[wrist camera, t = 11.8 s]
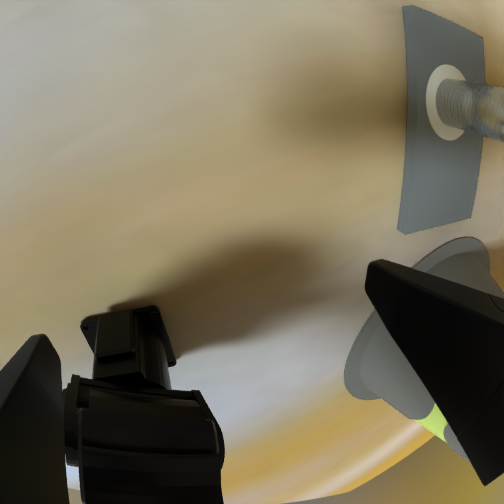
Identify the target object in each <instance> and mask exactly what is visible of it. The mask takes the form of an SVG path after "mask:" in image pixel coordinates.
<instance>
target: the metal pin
mask: <svg viewBox="0 0 504 504" xmlns="http://www.w3.org/2000/svg"><path fill="white" fill-rule="evenodd" d="M436 109H437V113H438V115H439V118H440V119H441V121H442V122H443V123H444V124H445V125H446V126H449V127H453V128H457V129H460V130H464V131H467V132H471V133H474V134H477V135H481V136H484V137H487V138H490V139H493V140H496V141H499V142H502V143H504V87H500V86H494V85H489V84H484V83H478V82H471V81H465V80H457V79H449V78H448V79H444V80H443V81H442V82H441V83H440V84H439V86H438V89H437V93H436Z"/></svg>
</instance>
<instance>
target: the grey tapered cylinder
mask: <svg viewBox="0 0 504 504" xmlns="http://www.w3.org/2000/svg"><path fill="white" fill-rule="evenodd" d="M412 268H413V269H416V270H419V271H422V272H425V273H428V274H432V275H435V276H438V277H441V278H444V279H447V280H450V281H453V282H456V283H459V284H462V285H465V286H468V287H471V288H474V289H477V290H480V291H483V292H486V294H487V293H489V294H492V295H495V296H498V297H501V298H504V292H503V291H502V290H501V288H500V287H499V286H498V284H497V283H496V282H495V280H494V279H493V278H492V277H491V275H490V274H489V268H490V264H489V256H488V252H487V250H486V248H485V246H484V245H483V244H482V243H481V242H480V241H479V240H477V239H475V238H472V237H461V238H457V239H454V240H451V241H449V242H447V243H445V244H443V245H441V246H439V247H438V248H436V249H435V250H433V251H432V252H430V253H429V254H428V255H426V256H425V257H424V258H423V259H421V260H420V261H419V262H418V263H417V264H415V265H414V266H413V267H412ZM344 382H345V386H346V388H347V390H348V391H349V393H350V394H351V395H352V396H354V397H356V398H358V399H362V400H375V399H380V398H381V399H383V400H384V401H385V402H387V403H388V404H389V405H391V406H392V407H394V408H395V409H396V410H398V411H399V412H400V413H402V414H403V415H404V416H406V417H407V418H408V419H414V420H415V421H417V422H418V423H419V424H421V425H422V426H424V427H425V428H426V429H428V430H429V431H431V432H432V433H433V434H435V435H436V436H438V437H439V438H440V439H442V440H443V441H445V442H446V443H448V445H449V446H450V447H451V448H452V449H453V450H454V451H455V452H456V453H458V454H459V455H460V456H462V457H463V458H465V459H466V460H468V461H469V462H470V460H469V459H468V457H467V455H466V453H465V452H464V450H463V448H462V447H461V445H460V443H459V441H458V440H457V437H456V436H455V434H454V433H453V431H452V429H451V428H450V426H449V424H448V423H447V421H446V419H445V418H444V416H443V415H442V413H441V411H440V410H439V408H438V407H437V405H436V403H435V402H434V400H433V399H432V397H431V395H430V394H429V392H428V391H427V389H426V388H425V386H424V385H423V383H422V382H421V380H420V378H419V377H418V375H417V374H416V372H415V371H414V369H413V368H412V366H411V365H410V363H409V362H408V360H407V359H406V357H405V356H404V355H403V353H402V352H401V350H400V349H399V347H398V346H397V344H396V343H395V341H394V340H393V338H392V337H391V335H390V334H389V332H388V331H387V329H386V327H385V326H384V324H383V322H382V320H381V318H380V317H379V315H378V313H377V311H376V310H374V311H373V312H372V314H371V315H370V317H369V318H368V320H367V321H366V323H365V324H364V326H363V327H362V329H361V331H360V332H359V334H358V336H357V338H356V340H355V342H354V344H353V346H352V348H351V350H350V353H349V355H348V358H347V362H346V365H345V371H344ZM503 474H504V473H503Z"/></svg>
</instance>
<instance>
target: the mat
mask: <svg viewBox="0 0 504 504" xmlns="http://www.w3.org/2000/svg"><path fill="white" fill-rule="evenodd" d="M402 9H403V18H404V29H405V41H406V59H407V132H406V151H405V165H404V176H403V186H402V196H401V204H400V212H399V219H398V226H397V229H398V230H399V231H401V232H402V233H404V234H405V235H406V234H410V233H414V232H418V231H422V230H426V229H429V228H433V227H437V226H441V225H445V224H449V223H453V222H456V221H460V220H464V219H468V218H471V215H472V210H473V205H474V200H475V194H476V189H477V182H478V176H479V169H480V161H481V153H482V143H483V136H481V135H477V134H474V133H471V132H467V131H464V130H460V129H457V128H453V127H449V126H446V125H445V124H444V123H443V122H442V121H441V119H440V118H439V115H438V113H437V109H436V93H437V89H438V86H439V84H440V83H441V82H442V81H443V80H444V79H448V78H449V79H457V80H465V81H471V82H478V83H484V84H485V60H484V44H483V37H481V36H479V35H477V34H476V33H474V32H472V31H470V30H468V29H466V28H464V27H462V26H460V25H458V24H456V23H454V22H452V21H449V20H447V19H445V18H443V17H441V16H438V15H436V14H434V13H431V12H429V11H426V10H424V9H421V8H419V7H416V6H414V5H409V6H403V7H402Z"/></svg>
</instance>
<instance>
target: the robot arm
mask: <svg viewBox="0 0 504 504" xmlns="http://www.w3.org/2000/svg"><path fill="white" fill-rule="evenodd" d="M365 291H366V294H367V296H368V297H369V299H370V301H371V303H372V304H373V306H374V308H375V310H376V311H377V313H378V315H379V317H380V318H381V320H382V322H383V324H384V326H385V327H386V329H387V331H388V332H389V334H390V335H391V337H392V338H393V340H394V341H395V343H396V344H397V346H398V347H399V349H400V350H401V352H402V353H403V355H404V356H405V357H406V359H407V360H408V362H409V363H410V365H411V366H412V368H413V369H414V371H415V372H416V374H417V375H418V377H419V378H420V380H421V382H422V383H423V385H424V386H425V388H426V389H427V391H428V392H429V394H430V395H431V397H432V399H433V400H434V402H435V403H436V405H437V407H438V408H439V410H440V411H441V413H442V415H443V416H444V418H445V419H446V421H447V423H448V424H449V426H450V428H451V429H452V431H453V433H454V434H455V436H456V437H457V440H458V441H459V443H460V445H461V447H462V448H463V450H464V452H465V453H466V455H467V457H468V459H469V460H470V462H471V464H472V466H473V468H474V469H475V471H476V473H477V475H478V477H479V479H480V480H481V482H482V484H483V485H484V486H486V485H488V484H489V483H491V482H492V481H493V480H495V479H496V478H497V477H499V476H500V475H502V474H503V473H504V298H501V297H498V296H495V295H492V294H489V293H487V294H486V292H483V291H480V290H477V289H474V288H471V287H468V286H465V285H462V284H459V283H456V282H453V281H450V280H447V279H444V278H441V277H438V276H435V275H432V274H428V273H425V272H422V271H419V270H416V269H413V268H410V267H406V266H403V265H400V264H397V263H394V262H390V261H387V260H384V259H379V260H375V261H372V262H370V263H369V265H368V268H367V274H366V280H365ZM151 312H156V313H155V314H152V313H151ZM85 325H87V326H89V327H86V326H85ZM80 328H81V330H82V332H83V334H84V336H85V338H86V340H87V342H88V344H89V346H90V348H91V349H92V351H93V353H94V362H93V375H92V379H88V378H82V377H80V376H79V375H74V374H72V378H71V383H68V385H67V388H66V389H63V391H62V378H61V361H60V358H59V355H58V354H57V352H56V350H55V349H54V347H53V345H52V343H51V342H50V340H49V338H48V337H47V336H46V335H45V334H38V335H33V336H31V337H30V338H29V339H28V340H27V341H26V342H25V343H24V345H23V346H22V347H21V348H20V349H19V350H18V351H17V352H16V354H15V355H14V356H13V357H12V358H11V359H10V360H9V362H8V363H7V364H6V365H5V366H4V367H3V369H2V370H1V371H0V504H70V503H69V496H68V487H67V476H66V463H67V465H69V466H75V467H79V480H80V492H81V500H82V503H83V504H224V503H223V496H222V489H221V469H222V466H223V463H224V457H225V447H224V439H223V434H222V431H221V428H220V426H219V424H218V422H217V421H216V419H215V417H214V416H213V414H212V412H211V410H210V409H209V407H208V405H207V403H206V402H205V400H204V398H203V396H202V394H201V392H200V391H199V390H191V391H181V390H172V389H171V383H170V377H169V371H168V367H172V366H175V365H176V358H175V355H174V352H173V349H172V346H171V343H170V340H169V337H168V334H167V331H166V328H165V325H164V322H163V319H162V316H161V312H160V309H159V308H158V307H157V306H149V307H144V308H139V309H134V310H128V311H123V312H118V313H113V314H108V315H103V316H99V317H94V318H89V319H84V320H82V321H81V325H80ZM169 361H170V362H169ZM65 455H66V463H65Z"/></svg>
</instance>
